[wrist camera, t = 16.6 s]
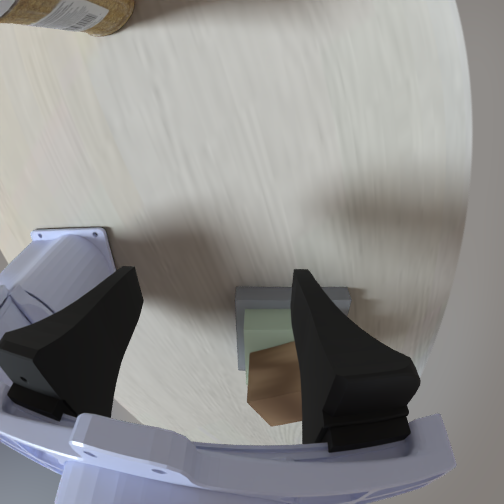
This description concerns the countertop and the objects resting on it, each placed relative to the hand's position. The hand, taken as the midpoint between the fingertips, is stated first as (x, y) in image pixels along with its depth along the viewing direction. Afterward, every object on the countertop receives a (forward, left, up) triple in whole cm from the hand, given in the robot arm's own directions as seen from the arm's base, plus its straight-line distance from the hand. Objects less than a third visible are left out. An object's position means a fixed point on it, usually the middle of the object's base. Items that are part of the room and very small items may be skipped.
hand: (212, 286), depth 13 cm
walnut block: (+5, -13, -6) cm, 15 cm away
